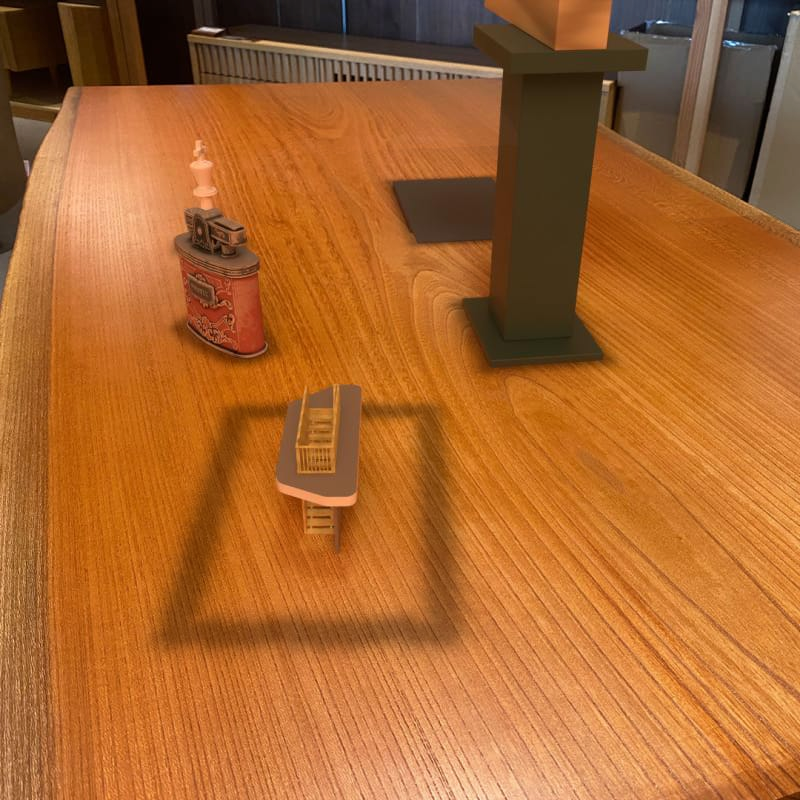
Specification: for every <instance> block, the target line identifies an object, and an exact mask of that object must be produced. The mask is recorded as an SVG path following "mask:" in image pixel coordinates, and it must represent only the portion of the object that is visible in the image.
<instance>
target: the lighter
mask: <svg viewBox="0 0 800 800" xmlns="http://www.w3.org/2000/svg"><path fill="white" fill-rule="evenodd" d="M183 214H184V221H185V225H186V229H187V232H182V233H179V234H177V235H176V236H174V237H173V246H174V250H175V252H176V253H177V254H178V259H179V266H180V272H181V279H182V285H183V291H184V298H185V305H186V311H187V319H188V320H187V321H186V328H187V330H188V331H189V332H190V333H191V334H192V335H193V336H194V337H195V338H197V339H198V340H199V341H201V342H202V343H204V344H205V345H206V346H209V347H211V348H212V349H214V350H216V351H218V352H220V353H223V354H225V355H228V356H231V357H233V358H236V359H239V360H251V359H255V358H259V357H261V356H263V355H264V354H266V353H267V352H268V349H269V345H268V343H267V341H266V340H265V331H264V321H263V311H262V301H261V300H262V299H261V293H260V290H261V289H260V283H259V282H260V281H259V271H260V270H261V262H260V257H259V255H258V254H256V253H255V252H254V251H252V250H251V249H250V248H249V247H246V246H244V245H246V244H247V243H248V237H247V228H246V227H245V226H244V225H243V224H242V223H240V222H238V221H235V220H233V219H230V218H229V217H226V216H225V215H224V213H223V211H222V209H220V208H218V207H214V208H212V209H209V210H204V209H202V208H201V207H199V206H191V207H188V208H187V207H186V208H185V209H184V210H183Z"/></svg>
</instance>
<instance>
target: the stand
mask: <svg viewBox="0 0 800 800" xmlns="http://www.w3.org/2000/svg"><path fill="white" fill-rule="evenodd" d="M472 45H473V46H475V48H477V49H478V50H479V51H481V53H483V54H484V55H485V56H486V57H488V58H489V59H490V60H492V61H493V62H494V63H495V64H496V65H498V66H499V67H500V68H501V69H502V77H501V78H502V79H501V96H500V111H499V112H500V113H499V126H498V145H497V160H496V177H495V183H496V192H495V208H494V224H493V240H491V241H492V242H491V244H492V245H491V259H490V260H491V261H490V274H489V275H490V277H489V289H488V290H489V291H488V292H489V293H488V296H478V297H476V296H475V297H463V298H462V299H461V306H462V309H463V311H464V312H465V315H466V317H467V320H468V322H469V324H470V327H471V328H472V331H473V334H474V335H475V337H476V339H477V342H478V344H479V346H480V348H481V351H482V353H483V355H484V357H485V359H486V362H487V364H488V366H489V369H494V368H509V367H523V366H525V367H526V366H537V365H540V366H541V365H554V364H567V363H568V364H569V363H579V362H580V363H581V362H582V363H583V362H597V361H598V362H599V361H603V360H604V355H605V353H604V351H603V350H602V348H601V347H600V346H599V344H598V343H597V341H596V340H595V338H594V337H593V335H592V334H591V332H590V331H589V330H588V328H587V327H586V325H585V324H584V322H583V321H582V319H581V318H580V317H579V316H578V314H577V313H576V308H577V307H576V305H577V304H576V303H577V298H578V289H579V281H580V275H581V274H580V272H581V265H582V258H583V249H584V241H585V233H586V224H587V217H588V216H587V215H588V209H589V199H590V192H591V183H592V176H593V167H594V159H595V151H596V144H597V143H596V142H597V135H598V126H599V119H600V111H601V110H600V109H601V102H602V94H603V87H604V78H605V73H607V72H608V73H613V72H614V73H615V72H617V73H618V72H645V71H646V70H647V65H648V64H647V63H648V57H649V48H648V47H646V46H643V45H642V44H639V43H637V42H635V41H634V40H631V39H629V38H626V37H624V36H622V35H620V34H618V33H617V32H613V31H611V30H610V29H609V30H608V38H607V46H606V49H603V50H564V51H555V50H553V49H552V48H550V47H549V46H547V45H545V44H544V43H542V42H540V41H539V40H537V39H536V38H534V37H532V36H531V35H529V34H527V33H526V32H524V31H523V30H521V29H519V28H518V27H516V26H515V25H513V24H511V23H493V24H492V23H489V24H487V23H486V24H484V23H483V24H473V30H472Z"/></svg>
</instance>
